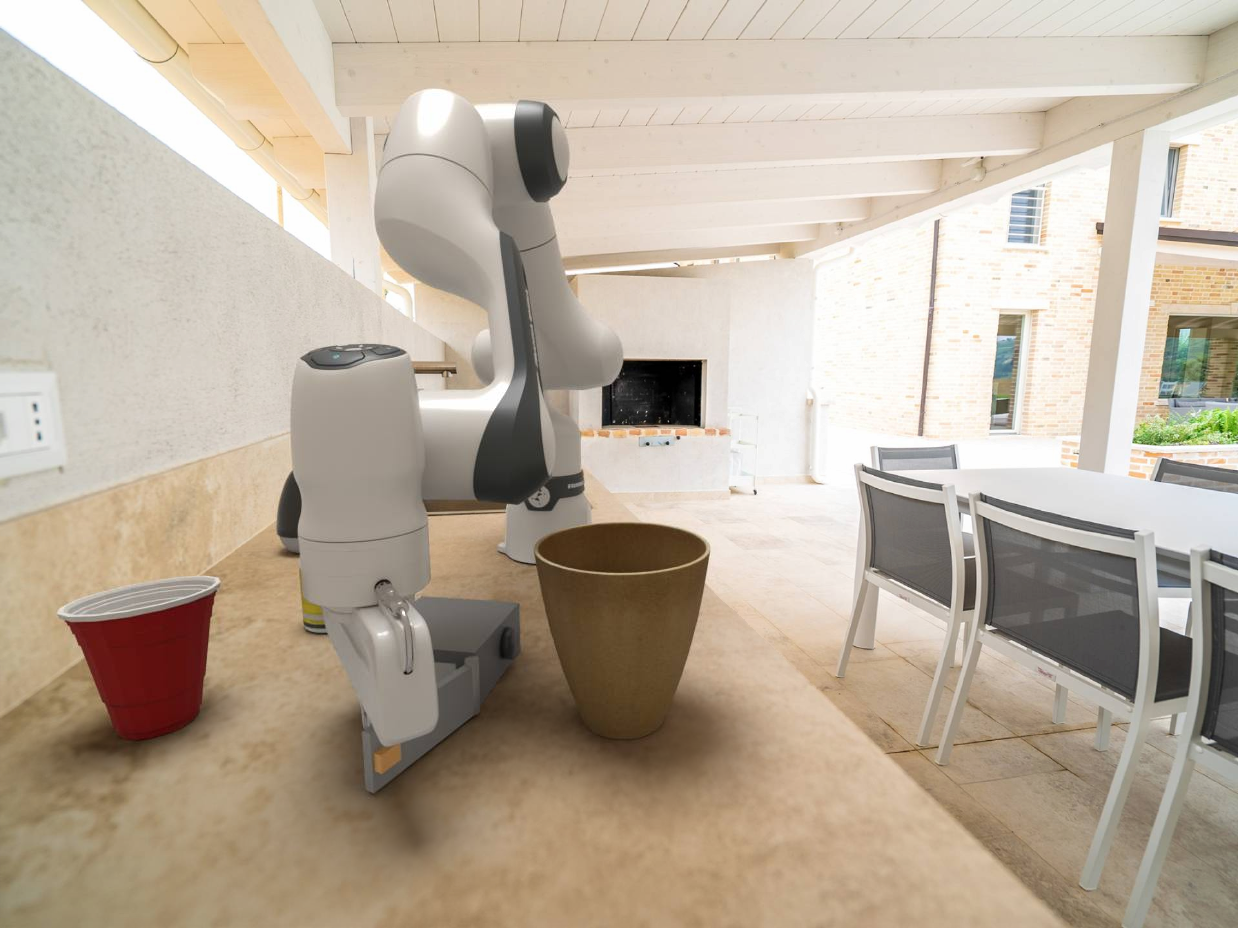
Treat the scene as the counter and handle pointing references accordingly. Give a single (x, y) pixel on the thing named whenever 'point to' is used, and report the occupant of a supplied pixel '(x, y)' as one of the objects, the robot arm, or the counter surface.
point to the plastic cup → (147, 650)
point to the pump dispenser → (289, 514)
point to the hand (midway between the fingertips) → (378, 734)
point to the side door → (454, 709)
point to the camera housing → (472, 635)
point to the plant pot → (622, 617)
